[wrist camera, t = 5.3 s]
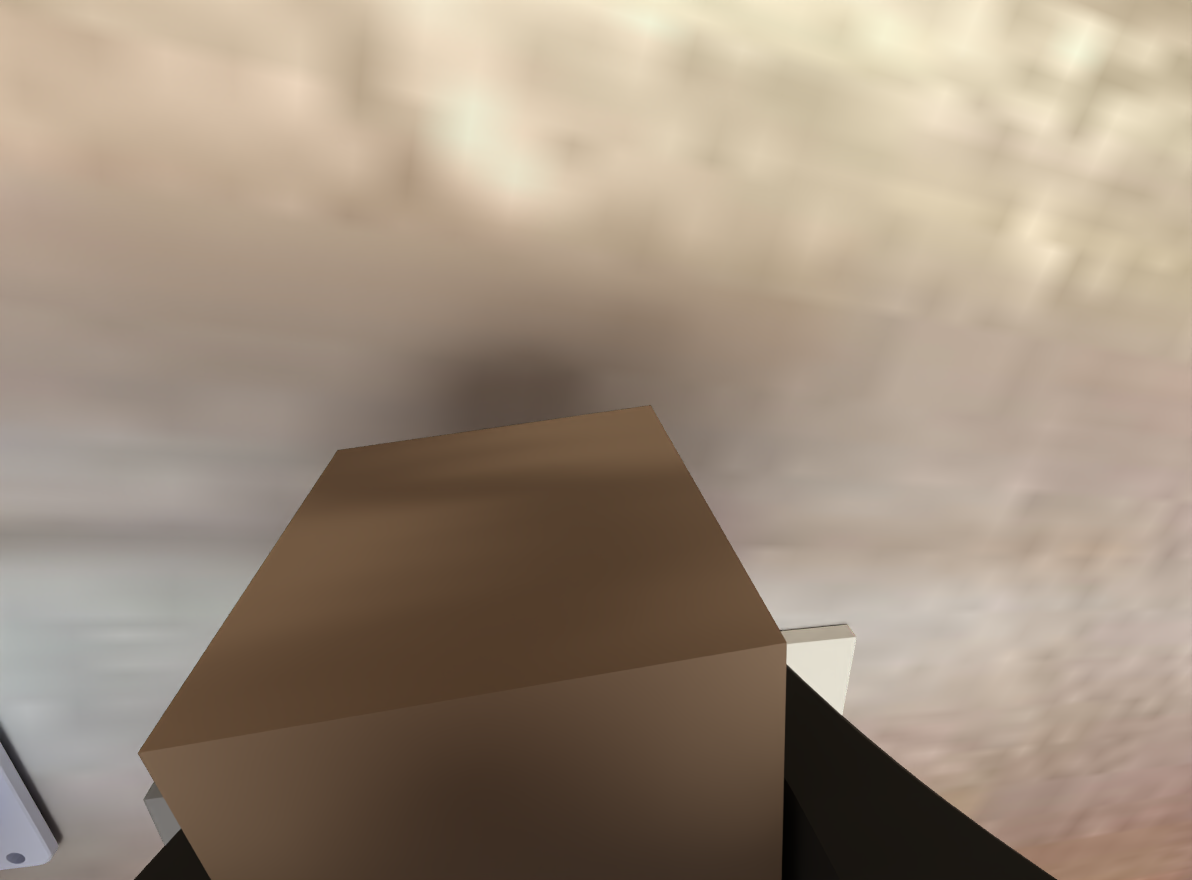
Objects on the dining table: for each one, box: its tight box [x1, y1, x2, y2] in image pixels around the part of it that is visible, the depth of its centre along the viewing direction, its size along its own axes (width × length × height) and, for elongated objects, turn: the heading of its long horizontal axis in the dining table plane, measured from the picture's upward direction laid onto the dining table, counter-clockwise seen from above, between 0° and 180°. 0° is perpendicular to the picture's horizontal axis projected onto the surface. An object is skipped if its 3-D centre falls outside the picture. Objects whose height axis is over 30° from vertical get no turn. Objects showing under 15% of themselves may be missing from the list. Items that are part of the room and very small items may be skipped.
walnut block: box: [138, 405, 787, 880], centre depth 8 cm, size 4×7×5 cm, turn 6°
